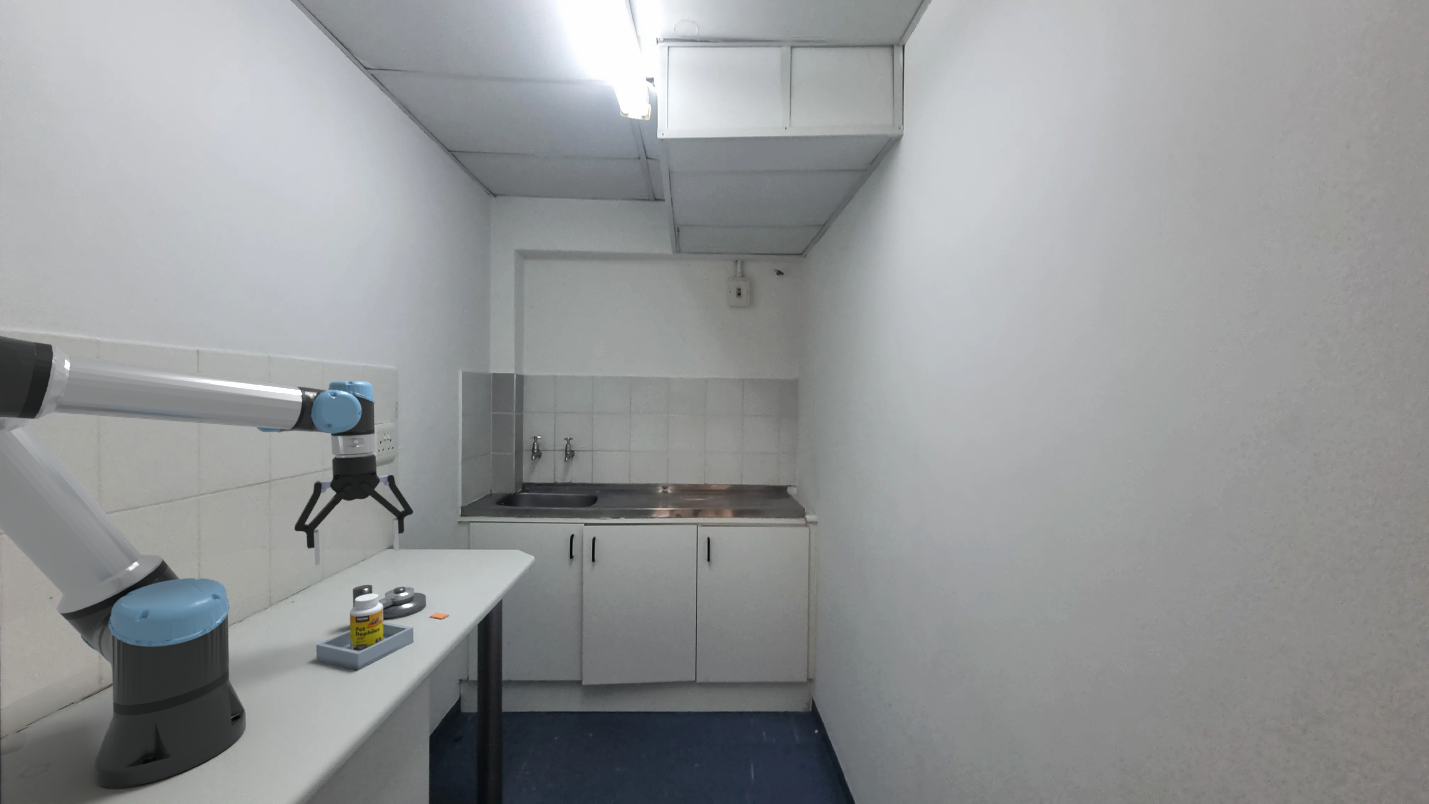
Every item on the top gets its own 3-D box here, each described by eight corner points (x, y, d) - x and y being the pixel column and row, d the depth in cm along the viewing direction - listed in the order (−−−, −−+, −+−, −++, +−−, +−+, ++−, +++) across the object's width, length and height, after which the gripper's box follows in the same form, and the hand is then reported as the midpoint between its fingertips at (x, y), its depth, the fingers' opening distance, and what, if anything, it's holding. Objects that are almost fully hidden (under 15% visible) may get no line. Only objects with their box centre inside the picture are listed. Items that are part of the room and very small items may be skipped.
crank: (401, 594, 128) (401, 569, 128) (419, 596, 126) (419, 571, 126) (345, 616, 115) (345, 589, 115) (364, 620, 113) (364, 592, 113)
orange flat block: (441, 619, 118) (441, 618, 118) (430, 617, 119) (429, 616, 119) (448, 615, 120) (448, 614, 120) (437, 613, 121) (437, 612, 121)
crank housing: (395, 622, 117) (395, 613, 117) (361, 615, 121) (361, 607, 121) (436, 603, 127) (436, 595, 127) (403, 598, 131) (403, 590, 131)
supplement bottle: (350, 657, 100) (350, 604, 100) (349, 646, 104) (349, 596, 104) (384, 648, 103) (384, 598, 103) (382, 638, 108) (381, 589, 108)
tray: (358, 670, 96) (358, 654, 96) (316, 659, 100) (316, 644, 100) (413, 641, 107) (413, 627, 107) (373, 633, 111) (373, 620, 111)
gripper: (274, 463, 97) (279, 574, 97) (425, 450, 112) (428, 547, 113) (276, 459, 103) (281, 564, 103) (419, 448, 118) (422, 539, 119)
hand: (358, 555), depth 108 cm, fingers open, 13 cm apart
